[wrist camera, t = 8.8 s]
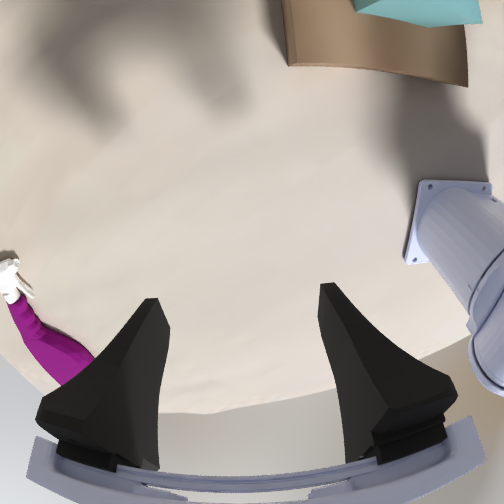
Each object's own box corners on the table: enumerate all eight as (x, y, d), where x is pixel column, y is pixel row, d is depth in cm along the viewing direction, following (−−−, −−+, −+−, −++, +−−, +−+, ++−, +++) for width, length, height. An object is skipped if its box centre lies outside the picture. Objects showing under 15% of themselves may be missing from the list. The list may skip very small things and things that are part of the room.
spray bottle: (73, 382, 36) (-16, 261, 22) (125, 386, 35) (28, 248, 22) (68, 396, 33) (-29, 275, 20) (120, 403, 32) (13, 265, 19)
